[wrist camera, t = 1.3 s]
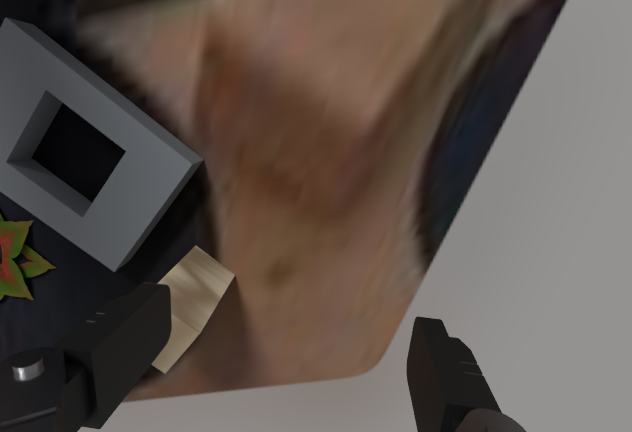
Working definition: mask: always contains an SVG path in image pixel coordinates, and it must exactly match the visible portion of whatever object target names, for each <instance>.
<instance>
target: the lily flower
mask: <svg viewBox="0 0 632 432" xmlns="http://www.w3.org/2000/svg"><path fill="white" fill-rule="evenodd" d="M33 221H34V220H33ZM33 221H28V222H27V221H18V222H13V221H7V222H4V220H3V218H2V216H1V214H0V244H1V248H2V255H3V257H2V264H0V300H1V299H2V298H3V296H4V295H9V296H15V297H27V298H28V299H31V300H34V299H33V298H32V297H31V294H30V292H29V291H28V290H27V289H28V288H27V286H26V284H25V282H24V279H23V277H34V276H37V275H40V274H42V273H44V272H46V271H47V270H48V269H53V268H56V267H54V266H53V265H51V264H50V263H49V262H48V261H46V260H44V259H43V258H42V257H41V256H40V255H39V254H37V253H36V252H35V251H33V250H32V249H31V248H29V247H28V246H26V245H25V244H23V243H24V241H25V239H26V236H27V234H28V229H29V226H31V224H32V222H33ZM19 253H22V254H23V255H24V256H25V257H26V258H27V259H30V260H32V261H34V262H26V263H25V264H19V265H16V263H15V262H14V261H13V260H12V259H11V258H15V257H17V256H18V255H19Z"/></svg>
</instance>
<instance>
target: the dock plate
mask: <svg viewBox="0 0 632 432" xmlns="http://www.w3.org/2000/svg"><path fill="white" fill-rule="evenodd" d="M62 103H64V104H65V105H67V106H68V107H69V108H70V109H72V110H73V111H74V112H76V113H77V114H78V115H80V116H81V117H82V118H83V119H85V120H86V121H87V122H89V123H90V124H91V125H93V126H94V127H95V128H96V129H98V130H99V131H100V132H102V133H103V134H104V135H106V136H107V137H108V138H109V139H111V140H112V141H113V142H115V143H116V144H117V145H119V146H120V147H121V148H122V149H124V150H125V151H126V153H125V154H124V156H123V157H122V159H121V160H120V162H119V163H118V165H117V166H116V168H115V169H114V171H113V172H112V174H111V175H110V177H109V178H108V180H107V181H106V183H105V185H104V186H103V188H102V189H101V191H100V192H99V194H98V195H97V197H96V198H95V200H94V201H93V203H92V202H91V201H89V200H88V199H87V198H85V197H84V196H83V195H81V194H80V193H78V192H77V191H76V190H74V189H73V188H72V187H70V186H69V185H68V184H66V183H65V182H63V181H62V180H61V179H59V178H58V177H57V176H55V175H54V174H53V173H51V172H50V171H48V170H47V169H46V168H44V167H43V166H42V165H40V164H39V163H38V162H36V161H35V160H33V159H32V158H31V157H32V156H33V154H34V152H35V150H36V149H37V147H38V145H39V143H40V142H41V140H42V138H43V136H44V135H45V133H46V131H47V129H48V128H49V126H50V124H51V122H52V121H53V119H54V117H55V116H56V114H57V112H58V110H59V109H60V107H61V105H62ZM202 162H203V159H202V158H201V157H200V156H198V155H197V154H196V153H195V152H193V151H192V150H191V149H190V148H188V147H187V146H186V145H184V144H183V143H182V142H181V141H179V140H178V139H177V138H176V137H174V136H173V135H172V134H171V133H169V132H168V131H167V130H166V129H164V128H163V127H162V126H161V125H159V124H158V123H157V122H156V121H154V120H153V119H152V118H151V117H149V116H148V115H147V114H145V113H144V112H143V111H142V110H140V109H139V108H138V107H137V106H135V105H134V104H133V103H132V102H130V101H129V100H128V99H127V98H125V97H124V96H123V95H122V94H120V93H119V92H118V91H117V90H115V89H114V88H113V87H112V86H110V85H109V84H108V83H107V82H105V81H104V80H103V79H101V78H100V77H99V76H98V75H96V74H95V73H94V72H93V71H91V70H90V69H89V68H88V67H86V66H85V65H84V64H83V63H81V62H80V61H79V60H78V59H76V58H75V57H74V56H73V55H71V54H70V53H69V52H68V51H66V50H65V49H64V48H62V47H61V46H60V45H59V44H57V43H56V42H55V41H54V40H52V39H51V38H50V37H49V36H47V35H46V34H45V33H44V32H42V31H41V30H40V29H39V28H37V27H36V26H35V25H33V24H29V23H26V22H22V21H18V20H14V19H11V18H7V17H5V19H4V21H3V23H2V25H1V28H0V192H2V193H3V194H5V195H6V196H7V197H9V198H10V199H12V200H13V201H14V202H16V203H17V204H19V205H20V206H22V207H23V208H24V209H26V210H27V211H29V212H30V213H31V214H33V215H34V216H36V217H37V218H39V219H40V220H41V221H43V222H44V223H46V224H47V225H48V226H50V227H51V228H53V229H54V230H55V231H57V232H58V233H60V234H61V235H63V236H64V237H65V238H67V239H68V240H70V241H71V242H72V243H74V244H75V245H77V246H78V247H80V248H81V249H82V250H84V251H85V252H87V253H88V254H89V255H91V256H92V257H94V258H95V259H97V260H98V261H99V262H101V263H102V264H104V265H105V266H106V267H108V268H109V269H111V270H112V271H113V272H115V271H116V270H118V269H119V268H120V267H122V266H123V265H124V264H126V263H127V262H128V261H130V260H131V258H132V257H133V256H134V254H135V253H136V252H137V250H138V249H139V247H140V246H141V245H142V243H143V242H144V241H145V239H146V238H147V237H148V235H149V234H150V232H151V231H152V230H153V228H154V227H155V226H156V224H157V223H158V222H159V220H160V219H161V217H162V216H163V215H164V213H165V212H166V211H167V209H168V208H169V207H170V205H171V204H172V202H173V201H174V200H175V198H176V197H177V196H178V194H179V193H180V192H181V190H182V189H183V187H184V186H185V185H186V183H187V182H188V181H189V179H190V178H191V177H192V175H193V174H194V172H195V171H196V170H197V168H198V167H199V166H200V164H201V163H202Z"/></svg>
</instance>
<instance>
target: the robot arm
mask: <svg viewBox="0 0 632 432" xmlns="http://www.w3.org/2000/svg"><path fill="white" fill-rule="evenodd" d="M171 329H172V319H171V292H170V287H169V286H168V285H165V284H157V283H149V282H143V283H142V284H140V285H139V286H138V287H137V288H136V289H134V290H133V291H132V292H131V293H129V294H128V295H123V296H121V297H119V298H117V299H114V300H112V301H110V302H108V303H107V304H105V305H104V306H103V307H102V308H100V309H99V310H98V311H97V312H96V314H93V315H92V316H90V317H89V318H88V319H86V322H83V323H81V324H80V325H79V326H78V327H76V328H75V329H74V330H73V331H71V332H70V333H69V334H67V335H66V336H65V337H64V338H62V339H61V340H60V341H59V342H57V343H56V344H55V345H54V346H52V347H51V348H50V347H41V348H34V349H29V350H25V351H22V352H19V353H17V354H14V355H12V356H10V357H8V358H7V359H5V360H3V361H2V362H1V363H0V432H77V431H78V430H79V429H80V428H81V427H89V428H95V429H100V428H101V427H102V426H103V425H104V423H105V422H106V421H107V420H108V418H109V417H110V416H111V415H112V413H113V412H114V411H115V409H116V408H117V407H118V406H119V404H120V403H121V402H122V401H123V399H124V398H125V397H126V396H127V394H128V393H129V392H130V390H131V389H132V388H133V387H134V385H135V384H136V383H137V382H138V380H139V379H140V378H141V377H142V375H143V374H144V373H145V371H146V370H147V369H148V368H149V366H150V365H151V364H152V363H153V361H154V360H155V359H156V358H157V356H158V355H159V354H160V352H161V351H162V350H163V349H164V347H165V346H166V345H167V343H168V341H169V338H170V335H171ZM407 380H408V386H409V391H410V395H411V400H412V405H413V410H414V415H415V420H416V425H417V430H418V432H526V431H525V430H524V428H523V427H522V426H520V425H519V424H518V423H517V422H516V421H514V420H513V419H512V418H510V417H508V416H507V415H505V414H503V413H502V412H501V410H500V408H499V406H498V404H497V402H496V400H495V398H494V396H493V394H492V392H491V390H490V388H489V386H488V384H487V382H486V380H485V378H484V376H482V372H481V370H480V368H479V366H478V365H477V362H476V360H475V358H474V356H473V354H472V351H471V350H470V349H469V348H468V347H467V346H466V345H465V344H464V343H463V342H461V340H460V339H459V338H453V337H449V336H448V333H447V331H446V329H445V326H444V324H443V322H442V320H440V319H431V318H424V317H416V319H415V322H414V326H413V331H412V337H411V342H410V348H409V353H408V358H407Z"/></svg>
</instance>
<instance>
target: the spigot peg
mask: <svg viewBox="0 0 632 432" xmlns="http://www.w3.org/2000/svg"><path fill="white" fill-rule="evenodd" d="M234 276H235V274H233V273H232V272H231V271H229V270H228V269H227V268H225V267H224V266H223V265H221V264H220V263H219V262H217V261H216V260H215V259H213V258H212V257H211V256H209V255H208V254H207V253H205V252H204V251H203V250H201V249H200V248H199V247H197V246H195V247H194V248H193V249H192V250H191V251H190V252H189V253H188V254H187V255H186V256H185V257H184V258H183V259H182V260H181V261H180V262H179V263H178V264H177V265H176V266H174V267H173V268H172V269H171V270H170V271H169V272H168V273H167V274H166V275H165V276H164V277H163V278H162V279H161V280H160V281H159V282H158V283H157V284H165V285H168V286H169V287H170V292H171V319H172V329H171V335H170V338H169V341H168V343H167V345H166V346H165V347H164V349H163V350H162V351H161V352H160V354H159V355H158V356H157V358H156V359H155V360H154V361H153V363H152V364H151V365H153V366H154V367H156V368H157V369H159V370H160V371H162V372H163V373H166V372H167V371H168V370H169V369H170V368H171V367H172V365H173V364H174V363H175V362H176V361H177V360H178V358H179V357H180V356H181V355H182V354H183V353H184V352H185V350H186V349H187V348H188V347H189V346H190V345H191V343H192V342H193V341H194V340H195V339H196V338H197V337H198V335H199V334H200V333H201V331H202V329H203V328H204V326H205V324H206V323H207V321H208V319H209V318H210V316H211V314H212V313H213V311H214V309H215V308H216V306H217V304H218V303H219V301H220V299H221V298H222V296H223V294H224V293H225V291H226V289H227V288H228V286H229V284H230V283H231V281H232V279H233V278H234Z"/></svg>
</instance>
